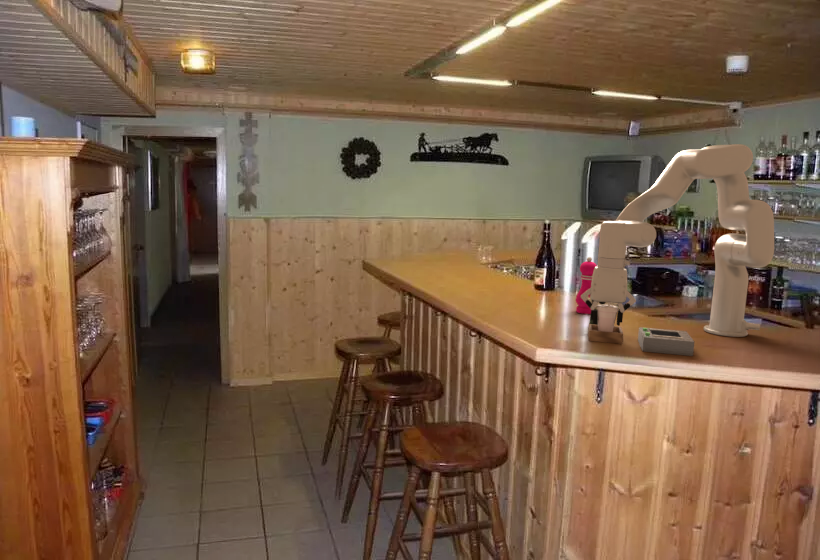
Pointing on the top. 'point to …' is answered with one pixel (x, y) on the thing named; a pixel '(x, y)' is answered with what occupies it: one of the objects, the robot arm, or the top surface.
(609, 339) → the wooden tray
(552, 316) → the top surface
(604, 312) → the smoothie
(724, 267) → the robot arm
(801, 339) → the top surface
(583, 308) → the pepper mill
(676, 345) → the box
